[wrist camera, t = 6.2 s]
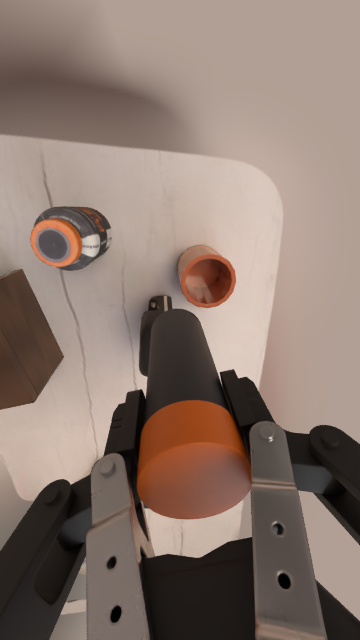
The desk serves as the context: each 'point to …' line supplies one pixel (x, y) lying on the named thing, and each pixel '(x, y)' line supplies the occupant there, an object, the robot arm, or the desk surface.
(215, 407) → the cylinder
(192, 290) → the pen cup
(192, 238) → the desk surface
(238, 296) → the desk surface
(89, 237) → the pill bottle
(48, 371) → the shelf
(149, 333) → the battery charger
